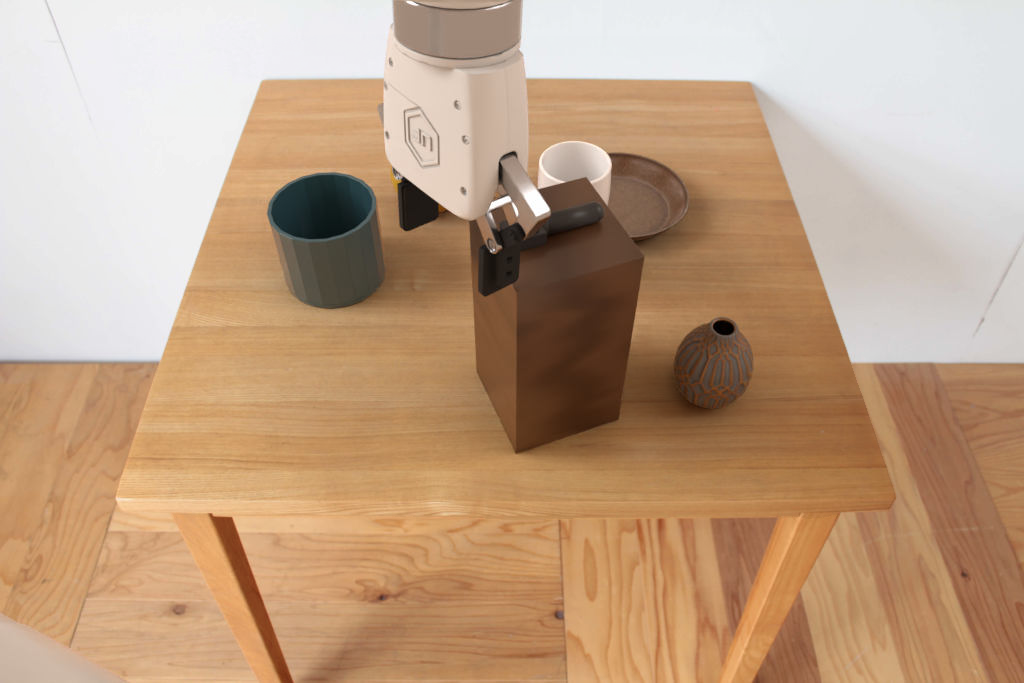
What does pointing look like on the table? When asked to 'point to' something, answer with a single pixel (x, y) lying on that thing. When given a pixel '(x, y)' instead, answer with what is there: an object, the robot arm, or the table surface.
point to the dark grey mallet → (563, 222)
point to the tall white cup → (576, 166)
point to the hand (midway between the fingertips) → (457, 253)
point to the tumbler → (328, 239)
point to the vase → (713, 364)
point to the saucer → (645, 195)
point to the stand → (559, 325)
